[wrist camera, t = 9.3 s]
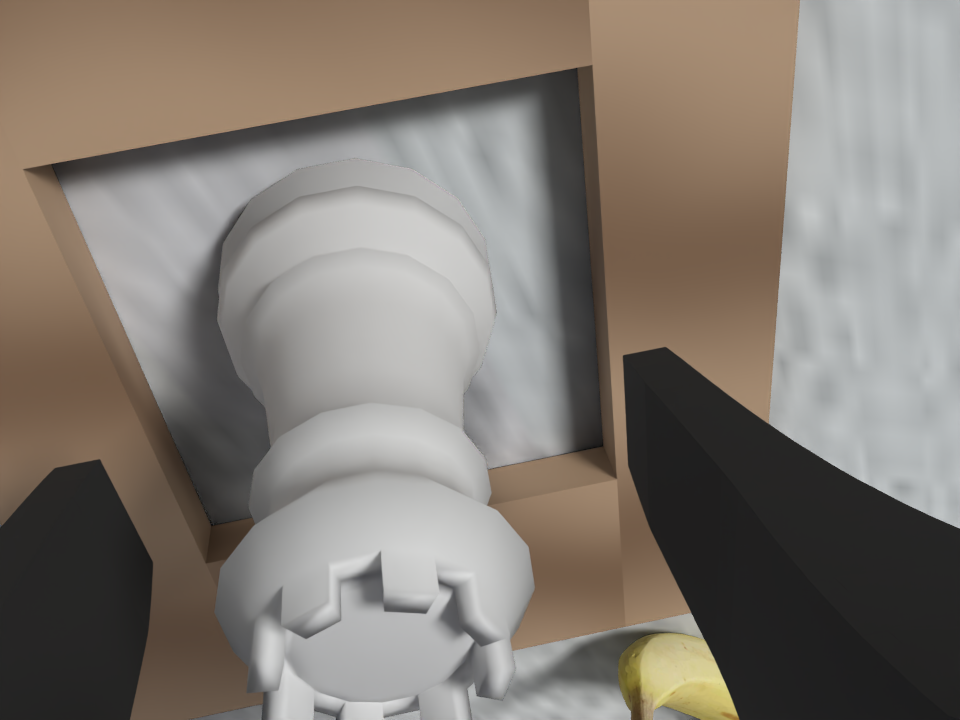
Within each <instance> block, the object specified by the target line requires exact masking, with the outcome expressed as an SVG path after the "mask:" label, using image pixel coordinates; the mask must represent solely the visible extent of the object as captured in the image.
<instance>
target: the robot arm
mask: <svg viewBox="0 0 960 720" xmlns="http://www.w3.org/2000/svg"><path fill="white" fill-rule="evenodd" d="M623 372H624V392H625V413H626V434H627V454H628V467H629V470H630V473H631V476H632V479H633V482H634V485H635V488H636V491H637V494H638V497H639V500H640V502H641V505H642V508H643V511H644V514H645V516H646V519H647V522H648V525H649V528H650V530H651V532H652V534H653V536H654V538H655V540H656V542H657V544H658V546H659V548H660V550H661V552H662V554H663V556H664V559H665V561H666V563H667V565H668V567H669V569H670V571H671V573H672V575H673V577H674V579H675V581H676V583H677V585H678V587H679V589H680V591H681V593H682V595H683V597H684V599H685V601H686V603H687V605H688V607H689V609H690V611H691V613H692V615H693V617H694V619H695V621H696V623H697V625H698V627H699V629H700V631H701V633H702V635H703V637H704V639H705V641H706V643H707V645H708V647H709V649H710V651H711V653H712V655H713V657H714V659H715V662H716V664H717V666H718V668H719V671H720V673H721V675H722V677H723V680H724V682H725V684H726V686H727V689H728V691H729V693H730V696H731V699H732V701H733V704H734V707H735V709H736V712H737V715H738V717H739V720H960V529H959V528H957V527H954V526H952V525H950V524H947V523H945V522H943V521H941V520H938V519H936V518H934V517H931V516H929V515H927V514H925V513H923V512H921V511H919V510H917V509H914V508H912V507H910V506H908V505H906V504H904V503H902V502H900V501H898V500H896V499H894V498H892V497H891V496H889V495H887V494H885V493H883V492H881V491H879V490H877V489H875V488H873V487H871V486H869V485H867V484H866V483H864V482H862V481H860V480H858V479H856V478H854V477H852V476H851V475H849V474H847V473H845V472H844V471H842V470H840V469H838V468H837V467H835V466H833V465H832V464H830V463H828V462H827V461H825V460H823V459H822V458H820V457H819V456H817V455H815V454H814V453H812V452H811V451H809V450H807V449H806V448H804V447H802V446H801V445H799V444H798V443H796V442H794V441H793V440H791V439H790V438H788V437H787V436H785V435H784V434H782V433H781V432H780V431H778V430H777V429H775V428H774V427H772V426H771V425H770V424H768V423H767V422H765V421H764V420H763V419H761V418H760V417H758V416H757V415H755V414H754V413H753V412H751V411H750V410H748V409H747V408H746V407H744V406H743V405H742V404H740V403H739V402H737V401H736V400H735V399H733V398H732V397H731V396H729V395H728V394H727V393H725V392H724V391H723V390H722V389H720V388H719V387H718V386H716V385H715V384H714V383H712V382H711V381H710V380H708V379H707V378H706V377H705V376H703V375H702V374H701V373H699V372H698V371H697V370H696V369H694V368H693V367H692V366H691V365H689V364H688V363H687V362H685V361H684V360H683V359H682V358H680V357H679V356H678V355H676V354H675V353H674V352H672V351H671V350H670V349H668V348H667V347H662V348H657V349H652V350H647V351H642V352H637V353H632V354H627V355H623ZM152 577H153V561H152V559H151V557H150V555H149V553H148V551H147V549H146V548H145V546H144V544H143V542H142V540H141V538H140V536H139V534H138V532H137V530H136V528H135V526H134V524H133V522H132V520H131V518H130V516H129V515H128V513H127V511H126V509H125V507H124V505H123V503H122V501H121V499H120V497H119V495H118V493H117V491H116V489H115V487H114V485H113V484H112V482H111V480H110V478H109V476H108V474H107V472H106V470H105V468H104V466H103V464H102V462H101V460H100V459H98V460H93V461H88V462H82V463H77V464H72V465H67V466H62V467H57V468H54V469H53V470H52V471H51V472H50V473H49V474H48V475H47V476H46V477H45V478H44V479H43V480H42V481H41V483H40V484H39V485H38V486H37V487H36V488H35V489H34V490H33V491H32V492H31V493H30V495H29V496H28V497H27V498H26V499H25V500H24V501H23V502H22V504H21V505H20V506H19V507H18V508H17V509H16V510H15V512H14V513H13V514H12V515H11V516H10V517H9V518H8V520H7V521H6V522H5V523H4V524H3V525H2V526H1V528H0V720H130V717H131V713H132V708H133V704H134V699H135V694H136V690H137V685H138V680H139V676H140V671H141V666H142V661H143V657H144V652H145V647H146V642H147V637H148V631H149V620H150V609H151V596H152Z"/></svg>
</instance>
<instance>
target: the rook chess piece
mask: <svg viewBox="0 0 960 720" xmlns="http://www.w3.org/2000/svg"><path fill="white" fill-rule="evenodd" d="M218 294H219V305H218V314H217V322H218V324H219V327H220V330H221V333H222V335H223V338H224V341H225V343H226V346H227V349H228V351H229V354H230V357H231V360H232V362H233V365H234V368H235V370H236V373H237V376H238V377H239V378H240V379H241V380H242V381H243V382H244V383H245V384H246V385H247V386H248V387H249V388H250V389H251V390H252V392H253V395H254V397H255V398H256V399H257V400H258V401H259V402H260V403H261V404H262V405H263V406H264V407H265V410H266V418H267V425H268V432H269V439H270V446H271V448H270V450H269V451H268V452H267V454H266V455H265V456H264V458H263V459H262V460H261V462H260V463H259V464H258V466H257V467H256V468H255V470H254V472H253V478H252V485H251V491H250V498H249V504H248V508H249V510H250V513H251V515H252V518H253V520H254V523H255V525H254V526H253V527H252V528H251V530H250V531H249V532H248V534H247V535H246V536H245V537H244V539H243V540H242V541H241V542H240V544H239V545H238V546H237V548H236V549H235V550H234V551H233V553H232V554H231V555H230V557H229V558H228V559H227V560H226V562H225V563H224V564H223V565H222V567H221V568H220V575H219V582H218V589H217V597H216V604H215V611H214V613H215V615H216V617H217V619H218V621H219V623H220V625H221V627H222V630H223V632H224V634H225V636H226V638H227V640H228V642H229V644H230V646H231V648H232V650H233V652H234V653H235V654H236V655H237V656H238V657H239V658H240V659H241V660H242V661H243V662H244V663H245V664H246V665H247V666H248V667H249V668H248V680H247V692H246V693H256V692H263V708H262V720H314V711H317V712H321V713H324V714H328V715H331V716H334V717H336V720H384V719H383V718H385V717H389V716H394V715H399V714H403V713H408V712H413V711H417V710H420V718H421V720H472V716H471V709H470V703H469V697H468V690H467V688H469V687H470V686H471V685H472V684H473V683H474V682H475V688H476V694H477V696H479V697H485V698H491V699H497V700H503V699H504V697H505V694H506V692H507V689H508V687H509V685H510V682H511V680H512V678H513V675H514V673H515V671H516V665H515V661H514V656H513V651H512V647H511V642H510V640H511V638H512V637H513V635H514V634H515V633H516V631H517V630H518V628H519V626H520V623H521V621H522V619H523V616H524V614H525V611H526V609H527V606H528V604H529V601H530V599H531V597H532V594H533V592H534V589H535V585H534V579H533V572H532V566H531V559H530V553H529V547H528V546H527V544H526V543H525V542H524V541H523V540H522V538H521V537H520V536H519V535H518V534H517V533H516V531H515V530H514V529H513V528H512V527H511V526H510V524H509V523H508V522H507V521H506V520H505V519H504V517H503V516H502V515H501V514H500V513H499V511H498V510H495V509H493V508H491V507H489V506H487V504H488V502H489V499H490V496H491V493H492V492H491V487H490V481H489V476H488V470H487V464H486V459H485V457H484V456H483V455H482V454H481V452H480V451H479V450H478V449H477V447H476V446H475V445H474V444H473V443H472V441H471V440H470V439H469V438H468V436H467V435H466V434H465V433H464V432H463V394H464V393H465V392H466V391H467V390H468V389H469V386H470V383H471V380H472V377H473V376H474V375H475V374H476V373H477V372H478V370H479V369H480V368H481V366H482V363H483V360H484V356H485V353H486V350H487V346H488V343H489V340H490V337H491V333H492V330H493V327H494V323H495V318H496V313H497V311H496V304H495V298H494V291H493V284H492V278H491V271H490V266H489V260H488V253H487V246H486V240H485V238H484V237H483V235H482V234H481V232H480V231H479V229H478V228H477V226H476V225H475V223H474V222H473V220H472V219H471V217H470V216H469V214H468V213H467V211H466V210H465V208H464V207H463V205H462V204H461V202H460V201H459V199H458V198H457V197H455V196H454V195H452V194H451V193H449V192H447V191H446V190H444V189H443V188H441V187H440V186H438V185H437V184H435V183H433V182H432V181H430V180H429V179H427V178H426V177H424V176H422V175H421V174H419V173H418V172H416V171H415V170H413V169H410V168H405V167H400V166H394V165H389V164H384V163H378V162H373V161H368V160H362V159H357V158H353V159H348V160H343V161H338V162H332V163H327V164H322V165H316V166H311V167H306V168H301V169H297V170H296V171H294V172H292V173H291V174H289V175H288V176H286V177H285V178H283V179H282V180H280V181H279V182H277V183H276V184H274V185H272V186H271V187H269V188H268V189H266V190H265V191H263V192H262V193H260V194H259V195H257V196H256V197H254V198H252V199H251V200H250V202H249V203H248V205H247V206H246V208H245V210H244V211H243V213H242V214H241V216H240V217H239V219H238V221H237V222H236V224H235V225H234V227H233V228H232V230H231V231H230V233H229V235H228V236H227V238H226V239H225V241H224V242H223V248H222V257H221V266H220V275H219V285H218Z"/></svg>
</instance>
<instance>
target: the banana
mask: <svg viewBox="0 0 960 720" xmlns="http://www.w3.org/2000/svg"><path fill="white" fill-rule="evenodd" d="M618 678H619V685H620V689H621V692H622V695H623V698H624V700H625V702H626V705H627V707H628V708H629V710H630V711H631V720H653V712H654V710H655V709H657V708H659V707H660V706H661V705H662V706H665V707H669V708H672V709H675V710H678V711H680V712H683V713H685V714H688V715H691V716H694V717H696V718H698V719H701V720H739V717H738V715H737V712H736V709H735V707H734V704H733V701H732V699H731V696H730V693H729V691H728V689H727V686H726V684H725V682H724V680H723V677H722V675H721V673H720V671H719V668H718V666H717V664H716V662H715V659H714V657H713V655H712V653H711V651H710V649H709V647H708V645H707V643H706V641H705V640H703V639H700V638H697V637H693V636H689V635H685V634H677V633H659V634H651V635H647V636H644V637H642V638H640V639H638V640H637V641H635V642H634V643H632V644H631V645H630V646H629V647H628V648H627V649H626V650H625V651H624V652H623V653H622V654H621V656H620V658H619V665H618Z"/></svg>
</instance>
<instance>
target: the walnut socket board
mask: <svg viewBox="0 0 960 720" xmlns="http://www.w3.org/2000/svg"><path fill="white" fill-rule="evenodd" d="M799 5H800V0H0V524H1V525H3V524H4V523H5V522H6V521H7V520H8V518H9V517H10V516H11V515H12V514H13V513H14V512H15V510H16V509H17V508H18V507H19V506H20V505H21V504H22V502H23V501H24V500H25V499H26V498H27V497H28V496H29V495H30V493H31V492H32V491H33V490H34V489H35V488H36V487H37V486H38V485H39V484H40V483H41V481H42V480H43V479H44V478H45V477H46V476H47V475H48V474H49V473H50V472H51V471H52V470H53V469H54V468H57V467H62V466H67V465H72V464H77V463H82V462H88V461H93V460H98V459H100V460H101V462H102V464H103V466H104V468H105V470H106V472H107V474H108V476H109V478H110V480H111V482H112V484H113V485H114V487H115V489H116V491H117V493H118V495H119V497H120V499H121V501H122V503H123V505H124V507H125V509H126V511H127V513H128V515H129V516H130V518H131V520H132V522H133V524H134V526H135V528H136V530H137V532H138V534H139V536H140V538H141V540H142V542H143V544H144V546H145V548H146V549H147V551H148V553H149V555H150V557H151V559H152V561H153V577H152V596H151V609H150V620H149V631H148V637H147V642H146V647H145V652H144V657H143V661H142V666H141V671H140V676H139V680H138V685H137V690H136V694H135V699H134V704H133V708H132V713H131V717H130V720H189V719H194V718H199V717H203V716H208V715H213V714H217V713H222V712H227V711H232V710H236V709H241V708H246V707H250V706H255V705H260V704H263V692H256V693H246V692H247V680H248V668H249V667H248V666H247V665H246V664H245V663H244V662H243V661H242V660H241V659H240V658H239V657H238V656H237V655H236V654H235V653H234V652H233V650H232V648H231V646H230V644H229V642H228V640H227V638H226V636H225V634H224V632H223V630H222V627H221V625H220V623H219V621H218V619H217V617H216V615H215V613H214V611H215V604H216V597H217V589H218V582H219V575H220V568H221V567H222V565H223V564H224V563H225V562H226V560H227V559H228V558H229V557H230V555H231V554H232V553H233V551H234V550H235V549H236V548H237V546H238V545H239V544H240V542H241V541H242V540H243V539H244V537H245V536H246V535H247V534H248V532H249V531H250V530H251V528H252V527H253V526H254V525H255V523H254V520H253V518H248V519H244V520H239V521H234V522H229V523H224V524H219V525H214V526H211V524H210V522H209V520H208V518H207V515H206V513H205V511H204V509H203V506H202V504H201V502H200V500H199V497H198V495H197V493H196V490H195V488H194V486H193V484H192V481H191V479H190V477H189V475H188V472H187V470H186V468H185V466H184V463H183V461H182V459H181V457H180V454H179V452H178V450H177V448H176V445H175V443H174V441H173V439H172V436H171V434H170V432H169V430H168V427H167V425H166V423H165V421H164V418H163V416H162V414H161V411H160V409H159V407H158V405H157V402H156V400H155V398H154V396H153V393H152V391H151V389H150V387H149V384H148V382H147V380H146V378H145V375H144V373H143V371H142V369H141V366H140V364H139V362H138V360H137V357H136V355H135V353H134V351H133V348H132V346H131V344H130V342H129V339H128V337H127V335H126V332H125V330H124V328H123V326H122V323H121V321H120V319H119V317H118V314H117V312H116V310H115V308H114V305H113V303H112V301H111V299H110V296H109V294H108V292H107V290H106V287H105V285H104V283H103V281H102V278H101V276H100V274H99V272H98V269H97V267H96V265H95V263H94V260H93V258H92V256H91V254H90V251H89V249H88V247H87V244H86V242H85V240H84V238H83V235H82V233H81V231H80V229H79V226H78V224H77V222H76V220H75V217H74V215H73V213H72V211H71V208H70V206H69V204H68V202H67V199H66V197H65V195H64V193H63V190H62V188H61V186H60V184H59V181H58V179H57V177H56V175H55V172H54V170H53V168H52V165H51V164H53V163H59V162H64V161H70V160H75V159H81V158H86V157H92V156H97V155H103V154H108V153H114V152H119V151H125V150H130V149H135V148H141V147H146V146H152V145H157V144H163V143H168V142H174V141H179V140H185V139H190V138H196V137H201V136H207V135H212V134H217V133H223V132H228V131H234V130H239V129H245V128H250V127H256V126H261V125H267V124H272V123H278V122H283V121H289V120H294V119H300V118H305V117H310V116H316V115H321V114H327V113H332V112H338V111H343V110H349V109H354V108H360V107H365V106H371V105H376V104H382V103H387V102H393V101H398V100H403V99H409V98H414V97H420V96H425V95H431V94H436V93H442V92H447V91H453V90H458V89H464V88H469V87H475V86H480V85H486V84H491V83H496V82H502V81H507V80H513V79H518V78H524V77H529V76H535V75H540V74H546V73H551V72H557V71H562V70H568V69H573V68H577V72H578V86H579V101H580V115H581V130H582V144H583V159H584V173H585V188H586V202H587V217H588V231H589V246H590V260H591V274H592V289H593V303H594V318H595V332H596V347H597V361H598V376H599V390H600V405H601V419H602V434H603V447H598V448H593V449H588V450H583V451H578V452H573V453H568V454H564V455H559V456H554V457H549V458H544V459H539V460H534V461H529V462H524V463H519V464H514V465H509V466H504V467H500V468H495V469H490V470H488V476H489V481H490V487H491V492H492V493H491V496H490V499H489V502H488V504H487V506H489V507H491V508H493V509H495V510H498V511H499V513H500V514H501V515H502V516H503V517H504V519H505V520H506V521H507V522H508V523H509V524H510V526H511V527H512V528H513V529H514V530H515V531H516V533H517V534H518V535H519V536H520V537H521V538H522V540H523V541H524V542H525V543H526V544H527V546H528V547H529V553H530V559H531V566H532V572H533V579H534V585H535V589H534V592H533V594H532V597H531V599H530V601H529V604H528V606H527V609H526V611H525V614H524V616H523V619H522V621H521V623H520V626H519V628H518V630H517V631H516V633H515V634H514V635H513V637H512V638H511V640H510V642H511V647H512V651H513V650H518V649H523V648H527V647H532V646H537V645H542V644H546V643H551V642H556V641H560V640H565V639H570V638H574V637H579V636H584V635H589V634H593V633H598V632H603V631H607V630H612V629H617V628H621V627H626V626H631V625H635V624H640V623H645V622H650V621H654V620H659V619H664V618H668V617H673V616H678V615H682V614H687V613H691V611H690V609H689V607H688V605H687V603H686V601H685V599H684V597H683V595H682V593H681V591H680V589H679V587H678V585H677V583H676V581H675V579H674V577H673V575H672V573H671V571H670V569H669V567H668V565H667V563H666V561H665V559H664V556H663V554H662V552H661V550H660V548H659V546H658V544H657V542H656V540H655V538H654V536H653V534H652V532H651V530H650V528H649V525H648V522H647V519H646V516H645V514H644V511H643V508H642V505H641V502H640V500H639V497H638V494H637V491H636V488H635V485H634V482H633V479H632V476H631V473H630V470H629V467H628V454H627V434H626V413H625V392H624V372H623V355H627V354H632V353H637V352H642V351H647V350H652V349H657V348H662V347H667V348H668V349H670V350H671V351H672V352H674V353H675V354H676V355H678V356H679V357H680V358H682V359H683V360H684V361H685V362H687V363H688V364H689V365H691V366H692V367H693V368H694V369H696V370H697V371H698V372H699V373H701V374H702V375H703V376H705V377H706V378H707V379H708V380H710V381H711V382H712V383H714V384H715V385H716V386H718V387H719V388H720V389H722V390H723V391H724V392H725V393H727V394H728V395H729V396H731V397H732V398H733V399H735V400H736V401H737V402H739V403H740V404H742V405H743V406H744V407H746V408H747V409H748V410H750V411H751V412H753V413H754V414H755V415H757V416H758V417H760V418H761V419H763V420H764V421H765V422H767V423H768V424H769V411H770V397H771V384H772V370H773V357H774V343H775V330H776V316H777V303H778V289H779V276H780V262H781V248H782V235H783V221H784V208H785V194H786V181H787V167H788V154H789V140H790V127H791V113H792V100H793V86H794V73H795V59H796V45H797V32H798V18H799Z"/></svg>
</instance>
